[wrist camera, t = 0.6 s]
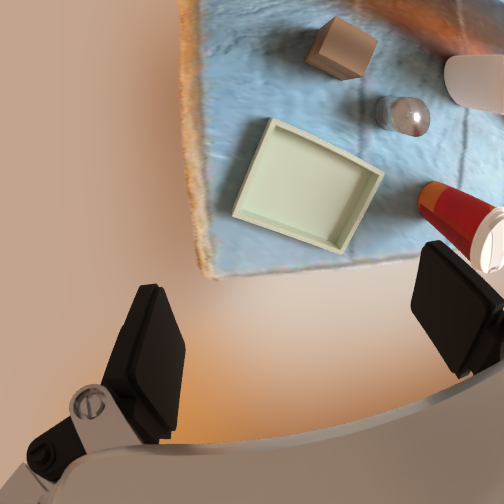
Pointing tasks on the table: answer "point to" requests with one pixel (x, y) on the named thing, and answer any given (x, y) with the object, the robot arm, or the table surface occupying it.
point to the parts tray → (306, 188)
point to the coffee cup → (466, 224)
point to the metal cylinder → (403, 115)
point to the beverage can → (476, 81)
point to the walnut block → (341, 50)
